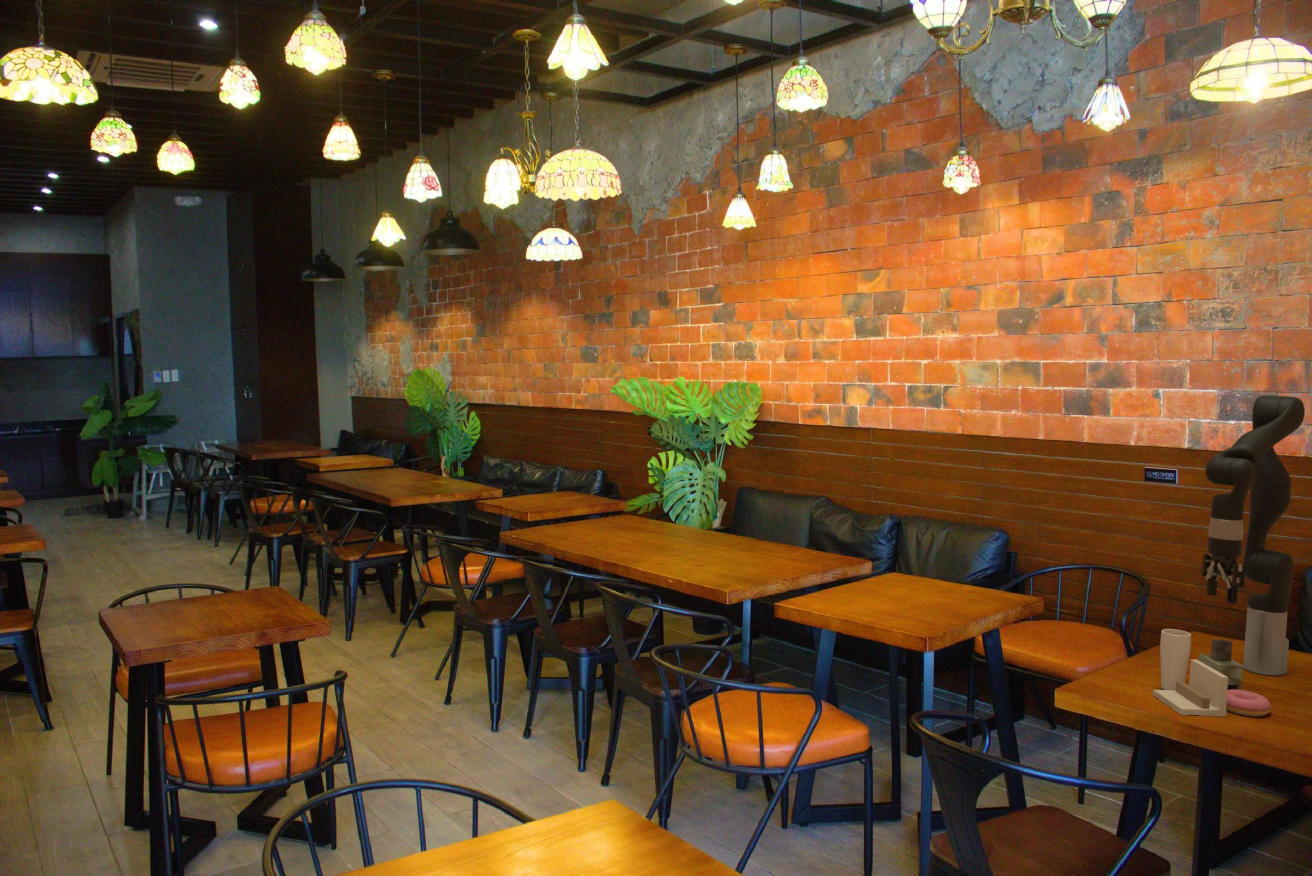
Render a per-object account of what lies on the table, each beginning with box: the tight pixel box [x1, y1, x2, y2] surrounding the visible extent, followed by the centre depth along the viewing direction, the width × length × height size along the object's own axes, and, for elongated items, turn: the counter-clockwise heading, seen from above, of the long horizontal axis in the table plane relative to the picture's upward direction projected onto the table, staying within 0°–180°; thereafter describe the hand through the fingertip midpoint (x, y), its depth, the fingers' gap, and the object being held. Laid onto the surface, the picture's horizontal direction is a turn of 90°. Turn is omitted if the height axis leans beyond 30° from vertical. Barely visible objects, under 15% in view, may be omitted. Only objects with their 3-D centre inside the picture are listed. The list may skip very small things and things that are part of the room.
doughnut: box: [1226, 689, 1272, 717], centre depth 231 cm, size 11×11×4 cm
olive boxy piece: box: [1198, 638, 1244, 690], centre depth 245 cm, size 6×9×13 cm, turn 179°
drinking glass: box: [1159, 628, 1192, 690], centre depth 244 cm, size 7×7×15 cm
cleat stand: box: [1152, 659, 1228, 718], centre depth 233 cm, size 10×14×10 cm
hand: (1221, 599), depth 244 cm, fingers open, 8 cm apart
